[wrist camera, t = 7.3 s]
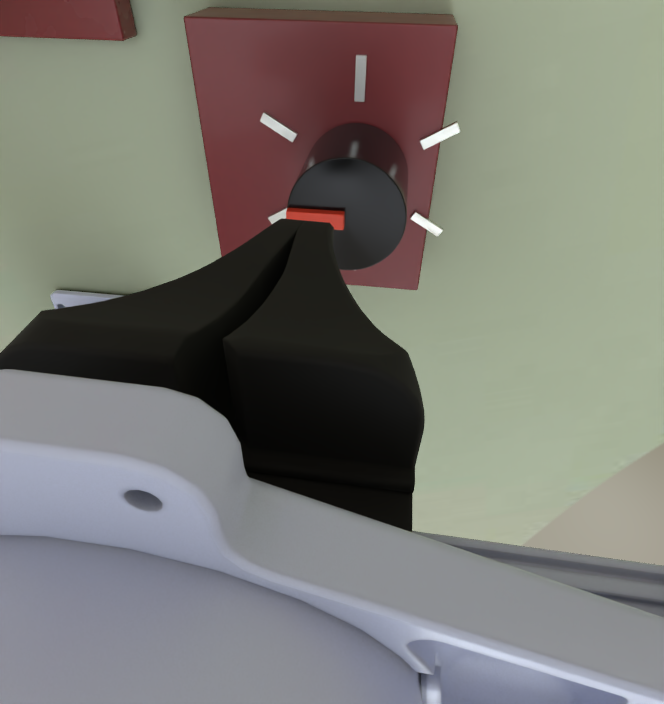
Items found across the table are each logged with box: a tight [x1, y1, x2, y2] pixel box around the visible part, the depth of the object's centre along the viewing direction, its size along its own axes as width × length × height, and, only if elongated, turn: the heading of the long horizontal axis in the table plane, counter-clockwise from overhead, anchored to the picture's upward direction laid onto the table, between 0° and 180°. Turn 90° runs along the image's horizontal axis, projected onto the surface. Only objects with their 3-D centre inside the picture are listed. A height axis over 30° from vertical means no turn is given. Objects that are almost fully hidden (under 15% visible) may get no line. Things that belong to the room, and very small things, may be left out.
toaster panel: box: [184, 7, 461, 290], centre depth 20 cm, size 10×10×3 cm
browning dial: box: [286, 123, 408, 270], centre depth 17 cm, size 4×4×4 cm
